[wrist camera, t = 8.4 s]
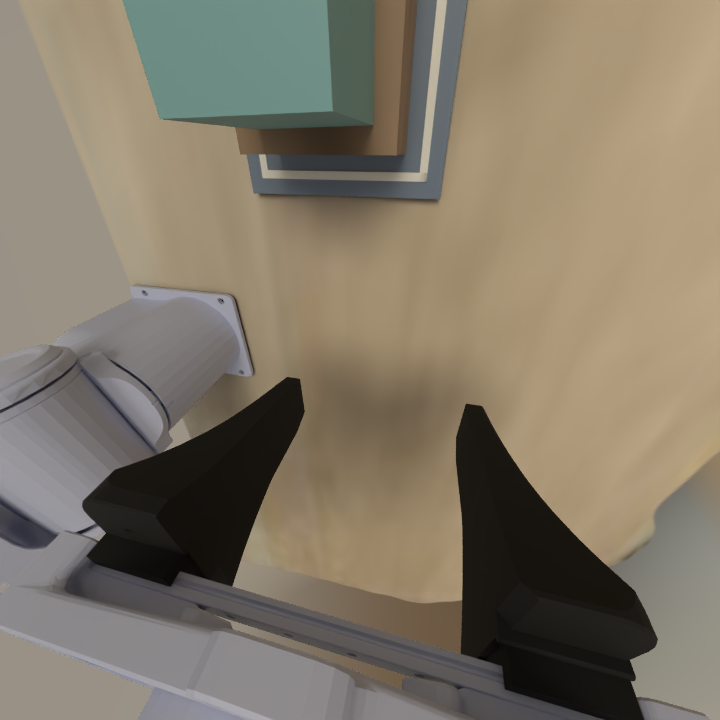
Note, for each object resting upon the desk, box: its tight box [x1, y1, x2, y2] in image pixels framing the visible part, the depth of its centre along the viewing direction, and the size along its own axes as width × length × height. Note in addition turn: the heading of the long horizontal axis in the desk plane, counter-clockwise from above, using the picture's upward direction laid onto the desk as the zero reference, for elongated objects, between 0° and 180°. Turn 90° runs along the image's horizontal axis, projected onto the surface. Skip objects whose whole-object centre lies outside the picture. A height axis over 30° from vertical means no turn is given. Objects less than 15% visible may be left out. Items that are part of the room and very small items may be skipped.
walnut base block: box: [235, 0, 417, 155], centre depth 12 cm, size 7×7×4 cm
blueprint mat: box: [247, 0, 467, 199], centre depth 14 cm, size 11×11×1 cm
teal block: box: [123, 0, 375, 129], centre depth 8 cm, size 5×5×6 cm
